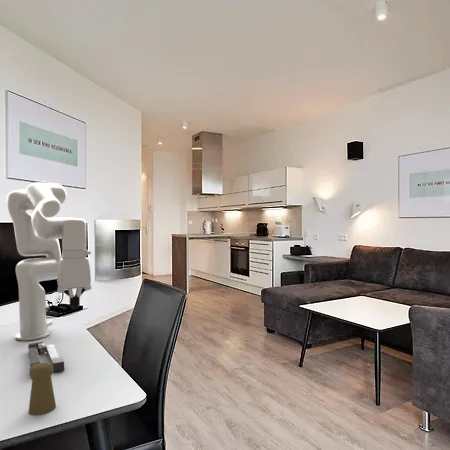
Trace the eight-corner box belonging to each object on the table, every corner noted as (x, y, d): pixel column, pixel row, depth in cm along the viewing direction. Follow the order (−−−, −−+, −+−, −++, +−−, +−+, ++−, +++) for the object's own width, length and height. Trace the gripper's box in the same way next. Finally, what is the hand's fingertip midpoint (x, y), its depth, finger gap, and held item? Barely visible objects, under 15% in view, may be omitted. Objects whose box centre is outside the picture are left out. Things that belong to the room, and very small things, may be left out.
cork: (44, 416, 86) (43, 369, 86) (22, 414, 87) (21, 368, 87) (61, 403, 92) (60, 360, 92) (40, 401, 93) (39, 359, 93)
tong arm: (38, 352, 128) (37, 343, 128) (54, 349, 131) (54, 340, 131) (44, 374, 110) (44, 363, 109) (64, 370, 112) (63, 359, 112)
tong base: (26, 352, 129) (26, 344, 129) (43, 349, 132) (43, 341, 132) (30, 378, 108) (30, 368, 108) (51, 373, 110) (50, 364, 110)
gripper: (95, 252, 130) (95, 303, 131) (48, 254, 123) (49, 308, 123) (99, 254, 124) (99, 308, 125) (51, 257, 116) (51, 313, 117)
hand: (74, 308), depth 124 cm, fingers closed
